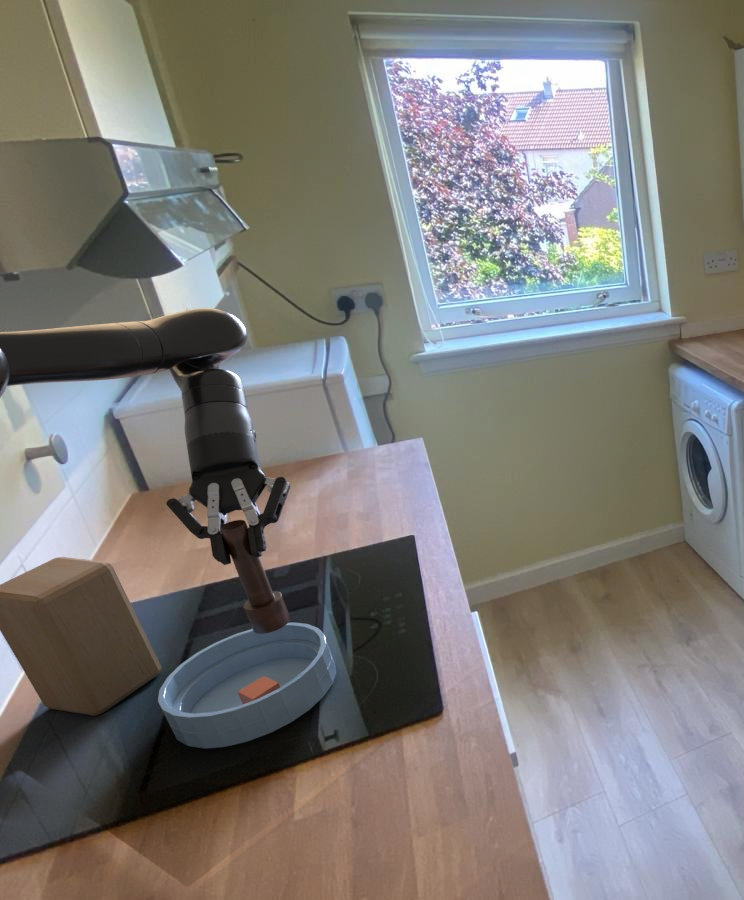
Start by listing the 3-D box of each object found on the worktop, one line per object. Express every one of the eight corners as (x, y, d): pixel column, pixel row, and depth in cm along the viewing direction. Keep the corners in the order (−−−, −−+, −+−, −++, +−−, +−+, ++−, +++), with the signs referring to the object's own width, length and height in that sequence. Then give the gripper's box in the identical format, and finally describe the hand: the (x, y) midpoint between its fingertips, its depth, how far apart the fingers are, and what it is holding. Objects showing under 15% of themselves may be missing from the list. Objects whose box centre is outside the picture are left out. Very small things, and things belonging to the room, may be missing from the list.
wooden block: (115, 663, 113) (58, 553, 105) (167, 671, 111) (113, 559, 103) (42, 710, 104) (-27, 594, 96) (98, 719, 102) (32, 601, 94)
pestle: (258, 638, 100) (217, 537, 93) (248, 625, 102) (207, 526, 96) (295, 622, 103) (257, 523, 96) (284, 610, 105) (247, 513, 99)
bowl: (195, 776, 93) (177, 740, 90) (159, 705, 104) (143, 672, 102) (358, 691, 106) (346, 658, 104) (310, 637, 118) (299, 606, 115)
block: (261, 718, 101) (252, 699, 99) (245, 711, 102) (237, 691, 101) (286, 702, 104) (278, 682, 102) (271, 694, 105) (263, 675, 104)
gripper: (145, 442, 94) (162, 567, 90) (274, 420, 101) (296, 536, 96) (169, 464, 101) (186, 582, 96) (289, 442, 107) (310, 551, 102)
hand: (241, 558), depth 96 cm, fingers closed on pestle, 3 cm apart
